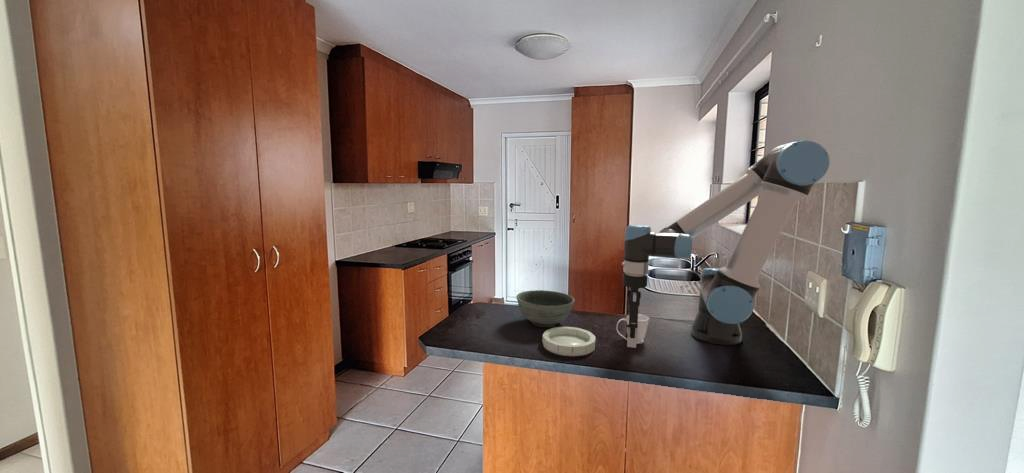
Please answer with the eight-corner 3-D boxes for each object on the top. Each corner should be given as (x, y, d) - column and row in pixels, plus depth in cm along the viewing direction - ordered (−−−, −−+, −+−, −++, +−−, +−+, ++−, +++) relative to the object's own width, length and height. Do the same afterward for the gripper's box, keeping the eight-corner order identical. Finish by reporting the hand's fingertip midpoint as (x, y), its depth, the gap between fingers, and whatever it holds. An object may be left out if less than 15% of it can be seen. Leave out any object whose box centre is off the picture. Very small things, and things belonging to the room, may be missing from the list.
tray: (596, 338, 133) (597, 329, 133) (592, 359, 118) (592, 349, 117) (548, 333, 137) (548, 324, 137) (538, 352, 122) (538, 342, 122)
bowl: (504, 326, 143) (505, 298, 142) (533, 310, 161) (533, 285, 160) (558, 339, 133) (559, 309, 131) (582, 320, 150) (583, 294, 149)
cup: (648, 346, 128) (650, 321, 126) (616, 343, 130) (617, 318, 129) (646, 337, 134) (648, 314, 133) (615, 335, 137) (616, 311, 135)
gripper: (623, 265, 141) (620, 326, 144) (622, 281, 119) (618, 353, 122) (646, 266, 139) (642, 328, 142) (649, 283, 117) (645, 356, 120)
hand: (631, 339), depth 132 cm, fingers open, 11 cm apart
